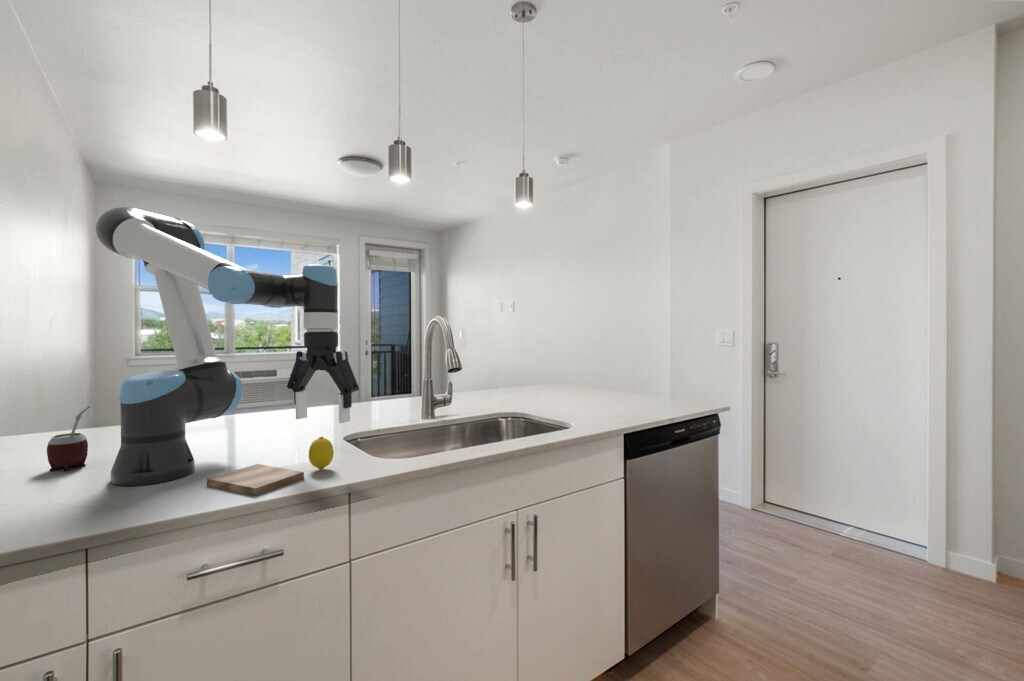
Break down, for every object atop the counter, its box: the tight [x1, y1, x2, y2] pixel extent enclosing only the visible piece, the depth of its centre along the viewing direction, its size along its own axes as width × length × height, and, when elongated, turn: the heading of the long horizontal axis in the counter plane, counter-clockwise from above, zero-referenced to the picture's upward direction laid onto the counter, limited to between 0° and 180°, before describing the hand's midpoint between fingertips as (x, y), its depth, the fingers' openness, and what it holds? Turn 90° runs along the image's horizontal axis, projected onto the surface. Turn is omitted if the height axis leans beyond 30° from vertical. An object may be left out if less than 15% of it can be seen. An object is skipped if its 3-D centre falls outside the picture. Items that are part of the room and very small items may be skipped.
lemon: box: [308, 436, 335, 471], centre depth 111 cm, size 6×6×8 cm
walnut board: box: [206, 463, 305, 496], centre depth 102 cm, size 15×12×2 cm
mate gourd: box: [46, 406, 91, 473], centre depth 111 cm, size 8×8×15 cm
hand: (322, 420), depth 110 cm, fingers open, 13 cm apart
